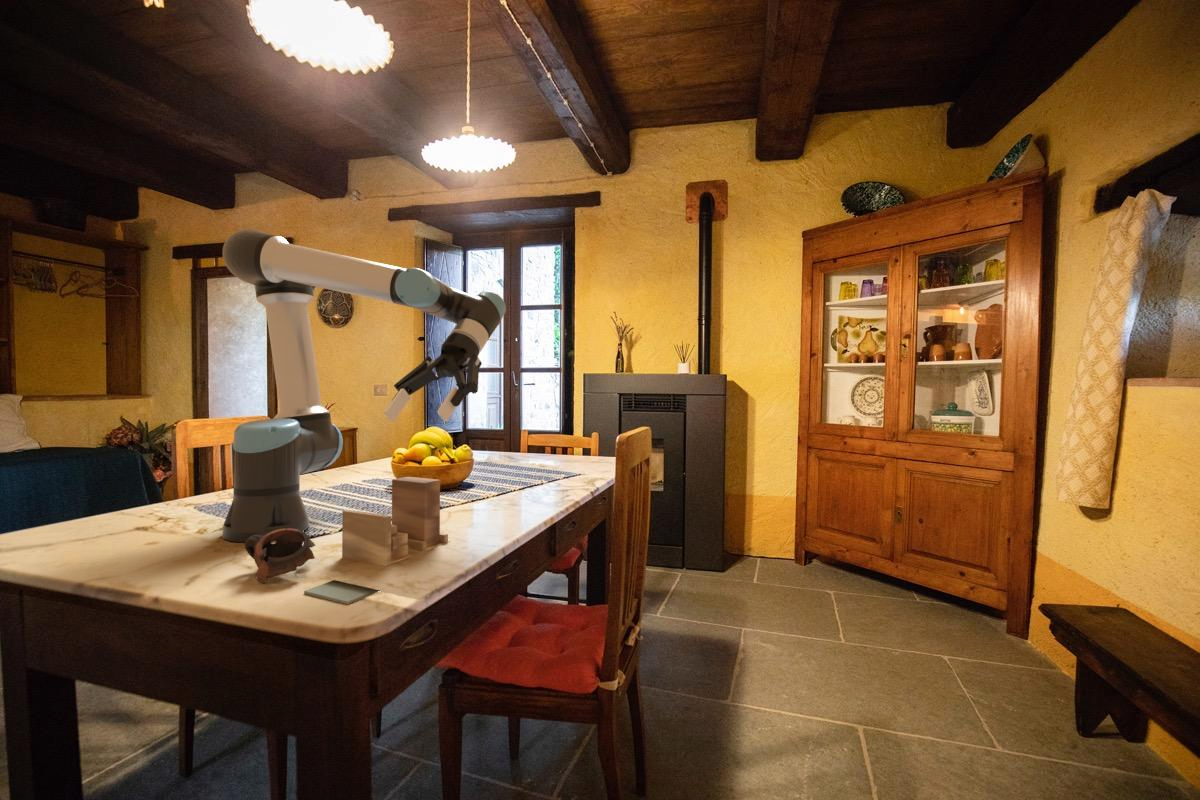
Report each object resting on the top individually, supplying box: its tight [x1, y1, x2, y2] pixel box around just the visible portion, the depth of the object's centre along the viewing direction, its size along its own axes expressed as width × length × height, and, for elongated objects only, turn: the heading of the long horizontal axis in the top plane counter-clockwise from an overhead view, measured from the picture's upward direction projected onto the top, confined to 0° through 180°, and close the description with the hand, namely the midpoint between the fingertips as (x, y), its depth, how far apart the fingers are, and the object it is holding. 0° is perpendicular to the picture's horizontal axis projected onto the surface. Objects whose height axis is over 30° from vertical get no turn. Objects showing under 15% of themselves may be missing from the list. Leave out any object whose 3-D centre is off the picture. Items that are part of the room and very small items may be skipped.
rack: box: [341, 509, 452, 567], centre depth 95 cm, size 16×10×9 cm, turn 156°
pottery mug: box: [244, 528, 316, 584], centre depth 85 cm, size 12×10×8 cm
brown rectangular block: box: [391, 476, 441, 548], centre depth 99 cm, size 4×8×12 cm, turn 66°
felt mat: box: [304, 579, 381, 605], centre depth 79 cm, size 9×9×1 cm
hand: (414, 416), depth 101 cm, fingers open, 13 cm apart
